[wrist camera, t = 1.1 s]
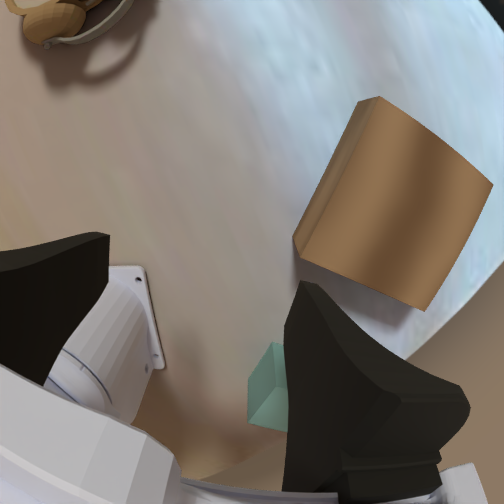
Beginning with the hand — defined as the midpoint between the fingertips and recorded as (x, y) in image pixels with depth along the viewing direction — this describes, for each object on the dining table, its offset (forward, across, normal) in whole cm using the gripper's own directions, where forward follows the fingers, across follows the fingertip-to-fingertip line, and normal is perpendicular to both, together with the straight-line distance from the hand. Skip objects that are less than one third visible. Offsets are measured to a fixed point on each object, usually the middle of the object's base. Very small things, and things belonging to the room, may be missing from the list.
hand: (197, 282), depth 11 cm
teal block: (+10, -7, +12) cm, 17 cm away
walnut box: (+10, -10, -3) cm, 15 cm away
